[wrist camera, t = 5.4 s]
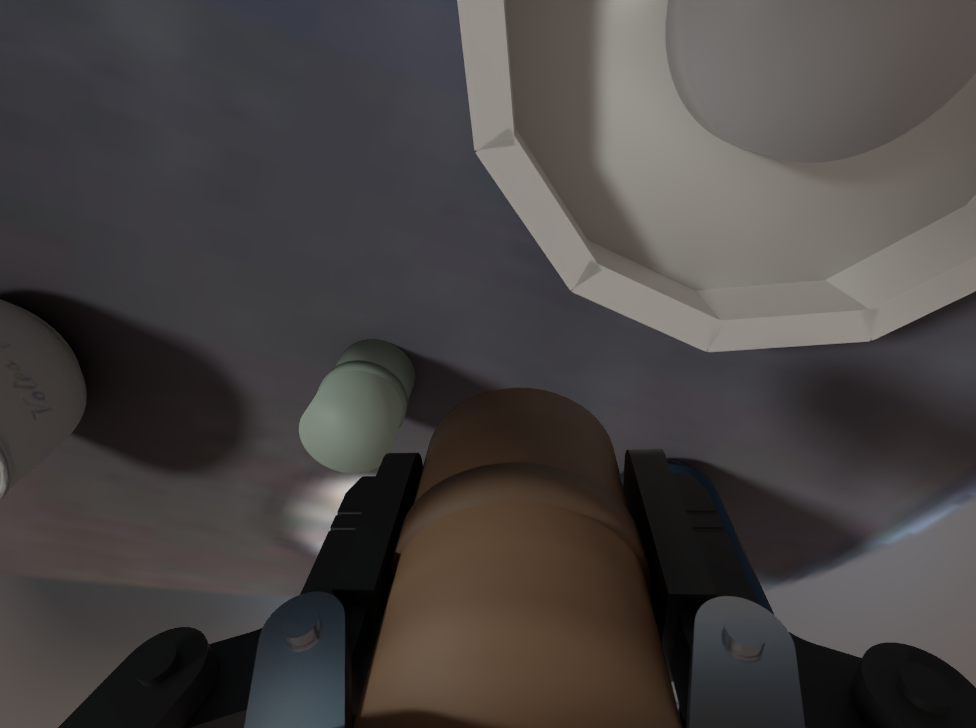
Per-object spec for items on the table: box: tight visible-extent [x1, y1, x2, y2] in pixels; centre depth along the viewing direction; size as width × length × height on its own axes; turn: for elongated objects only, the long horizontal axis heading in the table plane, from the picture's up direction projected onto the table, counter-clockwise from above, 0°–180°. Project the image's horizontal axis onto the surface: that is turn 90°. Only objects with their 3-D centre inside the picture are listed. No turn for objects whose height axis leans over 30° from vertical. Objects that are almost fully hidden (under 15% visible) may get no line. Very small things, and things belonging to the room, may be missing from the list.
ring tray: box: [457, 0, 976, 352], centre depth 18 cm, size 25×25×4 cm
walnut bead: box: [353, 388, 682, 728], centre depth 9 cm, size 5×5×6 cm
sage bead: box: [299, 339, 415, 473], centre depth 26 cm, size 5×5×6 cm
